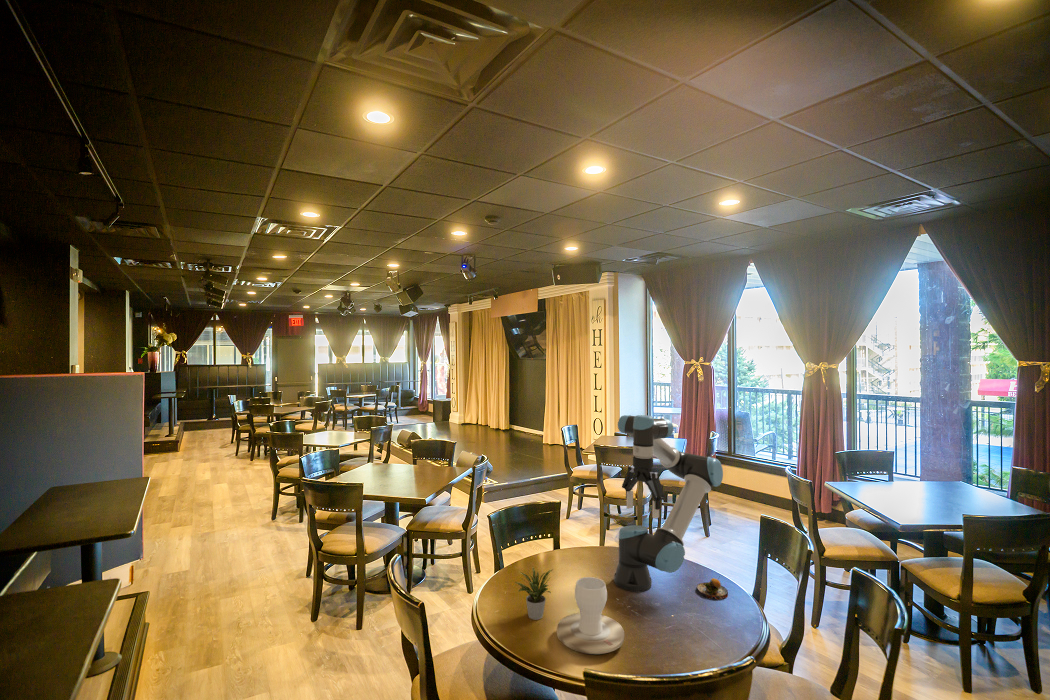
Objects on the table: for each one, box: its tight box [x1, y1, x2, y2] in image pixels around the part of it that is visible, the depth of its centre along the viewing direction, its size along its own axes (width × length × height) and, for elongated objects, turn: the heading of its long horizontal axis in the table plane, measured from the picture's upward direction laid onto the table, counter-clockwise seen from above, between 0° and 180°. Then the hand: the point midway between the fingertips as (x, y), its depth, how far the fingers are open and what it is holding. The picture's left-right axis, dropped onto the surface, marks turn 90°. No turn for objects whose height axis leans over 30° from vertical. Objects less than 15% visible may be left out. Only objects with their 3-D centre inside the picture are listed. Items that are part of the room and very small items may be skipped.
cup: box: [574, 576, 608, 635], centre depth 167 cm, size 11×11×15 cm
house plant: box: [514, 566, 554, 621], centre depth 183 cm, size 14×14×16 cm
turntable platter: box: [556, 612, 625, 655], centre depth 166 cm, size 22×22×2 cm
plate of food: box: [696, 576, 729, 601], centre depth 202 cm, size 12×12×8 cm
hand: (642, 512), depth 191 cm, fingers open, 13 cm apart
